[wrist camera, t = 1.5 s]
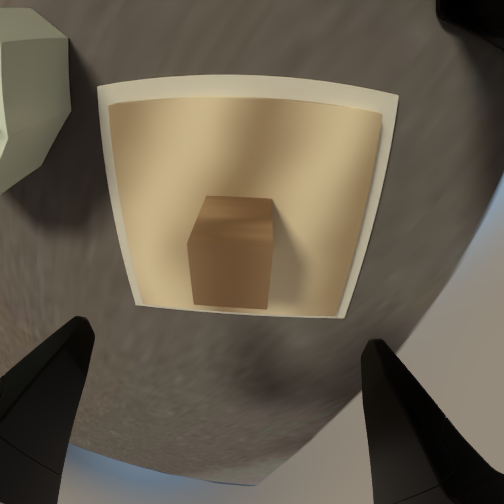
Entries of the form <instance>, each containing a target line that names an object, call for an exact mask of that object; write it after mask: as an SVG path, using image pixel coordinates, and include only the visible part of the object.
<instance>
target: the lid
mask: <svg viewBox="0 0 504 504" xmlns="http://www.w3.org/2000/svg"><path fill="white" fill-rule="evenodd" d="M108 110H109V122H110V133H111V142H112V151H113V159H114V166H115V173H116V180H117V187H118V193H119V199H120V205H121V210H122V216H123V221H124V226H125V231H126V236H127V241H128V246H129V250H130V255H131V259H132V263H133V267H134V272H135V276H136V280H137V284H138V288H139V291H140V295H141V299H142V303H143V304H145V305H155V306H164V307H174V308H185V309H196V310H209V311H222V312H236V313H253V314H272V315H296V316H335V315H336V312H337V309H338V306H339V303H340V299H341V296H342V293H343V290H344V286H345V283H346V279H347V276H348V272H349V269H350V265H351V262H352V258H353V254H354V251H355V247H356V243H357V239H358V235H359V231H360V227H361V223H362V219H363V215H364V211H365V206H366V202H367V197H368V193H369V188H370V183H371V179H372V174H373V168H374V163H375V158H376V153H377V147H378V141H379V135H380V129H381V123H382V116H383V114H381V113H378V112H376V111H371V110H365V109H360V108H354V107H348V106H341V105H334V104H327V103H319V102H310V101H300V100H290V99H276V98H259V97H179V98H162V99H149V100H139V101H129V102H121V103H115V104H112V105H109V106H108Z"/></svg>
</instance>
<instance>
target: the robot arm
mask: <svg viewBox="0 0 504 504" xmlns="http://www.w3.org/2000/svg"><path fill="white" fill-rule="evenodd" d="M444 8H446V9H447V11H448V15H447V14H446V13H445V11H444ZM436 12H437V14H438V16H439V17H440V18H441V19H443V20H445V21H447V22H449V23H452V24H454V25H456V26H458V27H460V28H462V29H465V30H467V31H469V32H471V33H473V34H475V35H477V36H478V37H480V38H482V39H484V40H486V41H488V42H490V43H491V44H493V45H495V46H497V47H498V48H500V49H502V50H503V51H504V0H436ZM94 341H95V334H94V331H93V329H92V327H91V325H90V323H89V321H88V319H87V318H86V317H81V316H75V317H74V318H72V319H71V320H70V321H68V322H67V323H66V324H65V325H63V326H62V327H61V328H60V329H58V330H57V331H56V332H55V333H53V334H52V335H51V336H50V337H48V338H47V339H46V340H45V341H44V342H42V343H41V344H40V345H39V346H37V347H36V348H35V349H34V350H33V351H31V352H30V353H29V354H28V355H27V356H25V357H24V358H23V359H22V360H21V361H20V362H18V363H17V364H16V365H15V366H14V367H13V368H11V369H10V370H9V371H8V372H7V373H6V374H5V375H3V376H2V377H1V378H0V504H57V502H58V495H59V488H60V483H61V478H62V476H61V475H62V472H63V467H64V462H65V457H66V452H67V448H68V443H69V439H70V435H71V431H72V427H73V423H74V419H75V416H76V412H77V408H78V405H79V401H80V398H81V394H82V391H83V388H84V384H85V381H86V377H87V373H88V368H89V363H90V359H91V354H92V350H93V345H94ZM361 375H362V396H363V409H364V415H365V423H366V430H367V438H368V446H369V455H370V464H371V474H372V486H373V499H374V504H504V474H502V473H500V472H498V471H496V470H495V469H494V468H492V467H491V466H490V465H489V464H488V463H487V462H486V461H485V460H484V459H483V458H482V457H481V456H480V455H479V454H478V452H477V451H476V450H475V449H474V448H473V447H472V446H471V445H470V444H469V443H468V442H467V441H466V440H465V439H464V438H463V436H462V435H461V434H460V433H459V432H458V430H457V429H456V428H455V427H454V426H453V424H452V423H451V422H450V421H449V419H448V418H446V416H445V414H444V413H443V412H442V411H441V409H440V408H439V407H438V405H437V404H436V403H435V402H434V400H433V399H432V398H431V397H430V396H429V394H428V393H427V392H426V391H425V389H424V388H423V387H422V386H421V385H420V383H419V382H418V381H417V380H416V378H415V377H414V376H413V375H412V374H411V372H410V371H409V370H408V369H407V368H406V366H405V365H404V364H403V363H402V362H401V361H400V359H399V358H398V357H397V356H396V354H395V353H394V352H393V351H392V350H391V349H390V347H389V346H388V345H387V344H386V343H385V342H384V341H383V340H382V339H370V340H369V341H368V343H367V345H366V347H365V349H364V351H363V353H362V355H361Z"/></svg>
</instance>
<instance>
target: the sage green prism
mask: <svg viewBox="0 0 504 504" xmlns="http://www.w3.org/2000/svg"><path fill="white" fill-rule="evenodd" d="M68 39H69V38H67V37H66V36H65V35H64V34H63V33H61V32H60V31H59V30H58V29H56V28H55V27H54V26H53V25H52V24H50V23H49V22H48V21H47V20H45V19H44V18H43V17H42V16H40V15H39V14H38V13H37V12H35V11H34V10H33V9H32V8H18V7H4V8H0V195H1V194H2V193H4V192H5V191H6V190H8V189H9V188H10V187H12V186H13V185H14V184H16V183H17V182H18V181H20V180H21V179H23V178H24V177H26V176H27V175H29V174H30V173H31V172H33V171H34V170H36V169H37V168H39V167H40V166H42V164H43V161H44V159H45V157H46V155H47V153H48V152H49V150H50V148H51V146H52V144H53V142H54V140H55V138H56V137H57V135H58V133H59V131H60V129H61V128H62V126H63V124H64V122H65V121H66V119H67V117H68V116H69V114H70V112H71V111H72V110H71V100H70V86H69V64H68Z"/></svg>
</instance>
